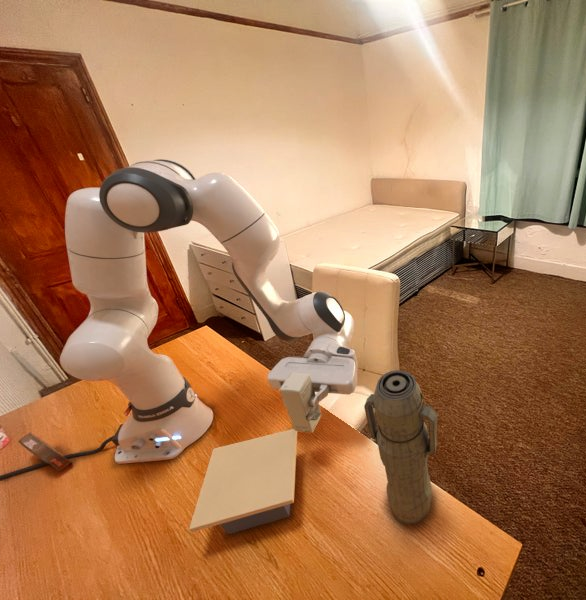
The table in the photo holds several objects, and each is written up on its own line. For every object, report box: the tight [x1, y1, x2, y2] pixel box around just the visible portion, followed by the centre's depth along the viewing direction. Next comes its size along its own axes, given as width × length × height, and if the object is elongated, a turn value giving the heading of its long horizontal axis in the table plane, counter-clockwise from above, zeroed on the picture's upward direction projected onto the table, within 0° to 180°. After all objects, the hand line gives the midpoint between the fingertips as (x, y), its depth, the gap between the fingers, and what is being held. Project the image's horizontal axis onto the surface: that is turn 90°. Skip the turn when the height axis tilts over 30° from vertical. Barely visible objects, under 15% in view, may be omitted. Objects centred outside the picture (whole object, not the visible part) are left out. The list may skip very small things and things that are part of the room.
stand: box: [188, 428, 298, 535], centre depth 65 cm, size 18×16×9 cm
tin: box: [18, 431, 73, 472], centre depth 77 cm, size 15×3×8 cm, turn 65°
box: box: [278, 372, 322, 434], centre depth 65 cm, size 5×4×13 cm
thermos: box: [363, 369, 438, 525], centre depth 55 cm, size 9×12×35 cm
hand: (299, 404), depth 64 cm, fingers closed on box, 4 cm apart
